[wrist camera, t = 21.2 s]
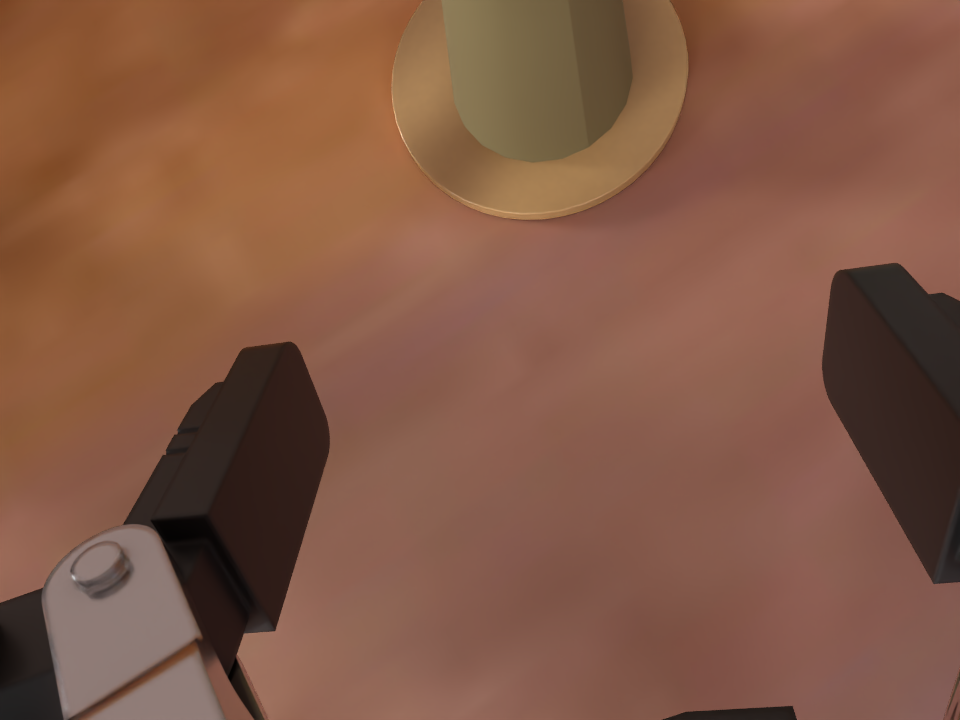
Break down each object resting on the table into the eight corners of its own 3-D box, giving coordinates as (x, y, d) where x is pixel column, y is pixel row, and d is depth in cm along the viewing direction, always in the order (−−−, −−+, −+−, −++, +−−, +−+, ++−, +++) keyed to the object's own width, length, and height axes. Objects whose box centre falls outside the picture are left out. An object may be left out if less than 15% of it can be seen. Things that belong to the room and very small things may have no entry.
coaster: (345, 150, 25) (340, 142, 25) (478, -87, 26) (475, -100, 25) (601, 269, 23) (601, 263, 23) (738, 7, 24) (742, -5, 23)
